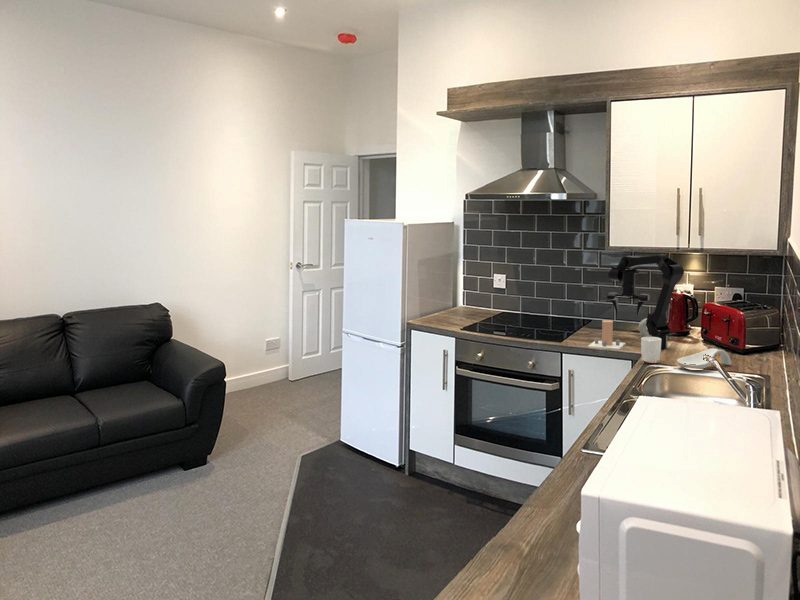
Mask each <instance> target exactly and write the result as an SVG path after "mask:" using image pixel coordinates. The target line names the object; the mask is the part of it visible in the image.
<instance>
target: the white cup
mask: <svg viewBox="0 0 800 600" xmlns="http://www.w3.org/2000/svg"><path fill="white" fill-rule="evenodd" d="M661 340H662V339H661V338H658V337H644V336H643V337H641V338H640V343H641V344H640V351H641V361H642V360H644V361H656V360H660V359H661V358H660V357H661V350H662V349H661Z"/></svg>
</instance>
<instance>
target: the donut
mask: <svg viewBox="0 0 800 600" xmlns="http://www.w3.org/2000/svg"><path fill="white" fill-rule="evenodd" d="M646 320H647V317H646V318H644V319H642V320H641V321H640V322H639V324H638V331H639V333H640V335H642V336H643V337H652V336H651V335H649V333H648V329H647V326H646ZM659 331H660V330H659Z"/></svg>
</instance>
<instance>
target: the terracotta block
mask: <svg viewBox="0 0 800 600" xmlns="http://www.w3.org/2000/svg"><path fill="white" fill-rule="evenodd" d="M601 321H602V322H601V326H602V327H601V341H602V345H603V341H606V345H612V342H613V329H614V328H613V327H614V325H613V324H614V322H613V320H610V319H609V320H608V319H607V320H605V319H603V320H601Z"/></svg>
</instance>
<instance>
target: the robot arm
mask: <svg viewBox="0 0 800 600" xmlns="http://www.w3.org/2000/svg"><path fill="white" fill-rule="evenodd" d="M651 264H652V265H653V264H656V265H657V268H658V269H659V271H660V272H661V273H662V275H661V278H662V282H663V283H662V287H661V288H660V289H661V290H660V292H659V296H658V299H657V302H656V306H655V308H654V311H653V312H651V313H648V314H647V317H646V318H647V320H646V330H647V331H648V333H649V335H651V336H652V337H658V338H661V339H662V340H661V350H664V349H665V350H666V349H667V348H668V336H669V335H671V332H672V330H671V328H670V327H669V326H668V324H667V322H668V318H667V311H668V308H669V306H670V305H669V304H670V302H671V299H672V296H673V293H674V289H675V288H676V286H677V284H678V283H679V282H681V279H682V278H683V276H684V273H685V269H684V267H683V266H682V265H680V264H679V263H678V262H676V260H673V258H671V257H669V256H668V255H666V254H665V253H664V254H663V253H662V254H661V253H660V254H656V255H648V256H639V255H625V256H622V257H621V258H620V261H619V262H618V264H617V266H611V269H610V270H609V271H608V274H607V275H608V279H609V280H610V281H616V282H621V288H620V292H621V294H619V293H618V292H616V291H615V292H614V291H613V292H611V291H610V292H608V293H607V294H606V299H607V300H609V302H611V303H612V304H613V307H614V309H615V312H616V314H617V315H618V314H619V299H633V300H634V299H635V300H638V301H637V309H636V315H637V316H639V314H640V311H641V308H642V307H643V304H645V303H646V302H648V301H650V299H651V298H650V297H651V296H650V294H649V293H639V294H637V288H636V274H639V273H640V271H639V269H637V268H638V267H640V266H641V265H651ZM659 330H660V331H659Z"/></svg>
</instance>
